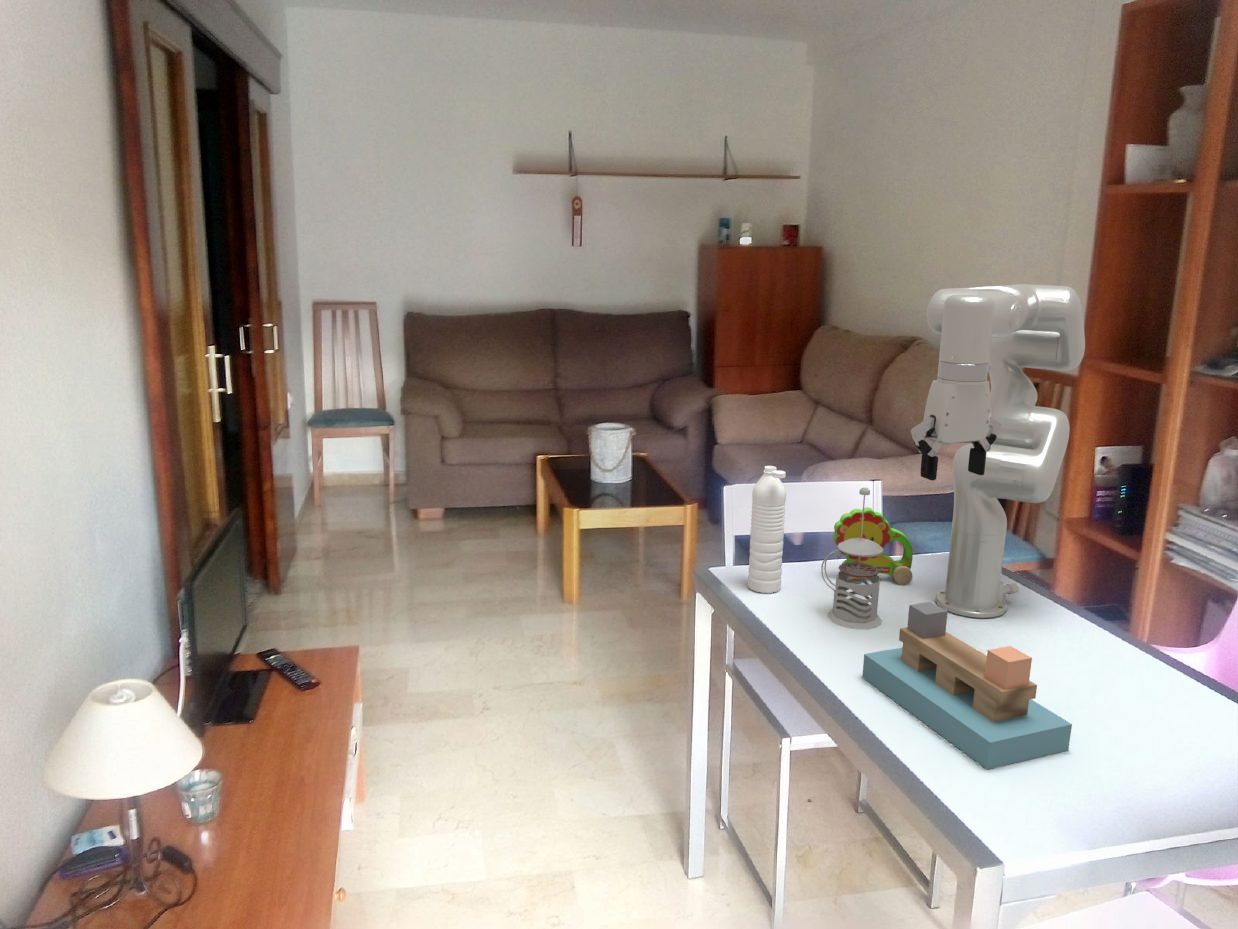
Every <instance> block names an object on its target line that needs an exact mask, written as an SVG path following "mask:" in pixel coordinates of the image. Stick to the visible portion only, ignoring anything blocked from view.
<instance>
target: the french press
mask: <svg viewBox="0 0 1238 929" xmlns="http://www.w3.org/2000/svg"><path fill="white" fill-rule="evenodd" d="M858 494H859V495H861V496H863V503H862V509H863V513H862V526H861V538H851V539H848V540H846V541H843V542H841V543H839V544H838V546H837V549H835V550H832V551H831V552H829V554H828V555H826V556H825V558H824V559H823V561H822V563H821V578H822V580H823V582H824V583H825V584H826V586H827V587H828V588H830V589H831V590H832V591H833V606H832V610H831V611H829V612H828V615H827V618H828V619H829V621H830V622H832V623H833V624H835V625H837V626H840V627H843V628H846V629H854V630H870V629H875V628H878V627H880V626H881V625H882V623H883V619H882V618H881V617H880V616H879V615H878V608H879V607H878V606H879V605H878V604H879V594H880V585H881V584H880V582H881V579H880V576H879V575H878V574H880V573H879V570H878V569H877V568H876V567H875V566H873V565H870V564H869V565H868V564H865V563H860V557H875V556H879V555H881V554H882V553H884V548H882V547H881V546H880V545H878V544H877V543H875V542H873V541H871V540H868V539H864V538H862V529H863V516H864V508H865V500H866V496H869V495H871V490H870V489H869V488H868V487H861V488H860V489H859V492H858ZM838 548H839V550H838ZM839 551H840V552H839ZM838 552H839V553H838ZM841 552H843V553H845V554H849V555H852V556H859V562H857V563H856V562H855V563H852V562H848V563H843V562H842V563H843V564H842V563H841V564H839V565H838V570H839V572H838V573H837V574H836V576H835V583H833V582H832V581H831V579H829V577H828V573H827V561H828V560H829V557H830V556H832V555H833V554H836V559H837V560H839V559H841V557H842V554H841ZM823 570H824V572H823ZM824 574H825V577H826V579H827V581H828V582H829V583H830V584H831V585H832V586H834V588H833V587H832V586H830V585H829V584H828V583H827V581H826V579H825V577H824ZM850 576H852V577H860V578H862V579H860V578H854V579H850V580H847V578H848V577H850ZM866 579H867V580H866ZM857 581H858V583H854V584H853V583H851V582H857ZM868 581H869V582H870V583H869V582H868ZM859 583H861V584H859ZM849 590H850V591H849ZM856 595H858V596H856ZM859 596H861V597H864V598H865V599H864V598H860V597H859ZM848 597H849V598H848ZM870 597H871V598H870ZM869 603H870V604H869Z"/></svg>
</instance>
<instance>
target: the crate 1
mask: <svg viewBox="0 0 1238 929" xmlns="http://www.w3.org/2000/svg"><path fill="white" fill-rule="evenodd" d="M908 606H909V607H908V617H907V618H908V619H907V626H906V627H907V629H908V630H910V631H912V632H913V633H915V634H916V635H918V636H920V637H921V638H923V639H927V638H933V637H939V636H945V633H946V632H947V621H948V612H949V611H947V610H945V609H943V608H942V607H940V606H939V605H938V604H937V603H935V602H932V601H926V602H920V603H913V604H909V605H908Z"/></svg>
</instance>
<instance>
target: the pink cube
mask: <svg viewBox="0 0 1238 929" xmlns="http://www.w3.org/2000/svg"><path fill="white" fill-rule="evenodd" d="M986 651H987V652H986V655H987V659H986V668H985V677H986V678H988V679H989V680H991V681H993V682H994V683H996V684H998V685H999V686H1001V687H1002V688H1004V689H1010V688H1015V687H1020V686H1025V685H1029V681H1030V676H1031V670H1032V669H1031V668H1032V663H1033V662H1032V661H1033V657H1032V656H1030V655H1028V654H1026V653H1024V652H1022V651H1021V650H1018V649H1017V648H1015V647H1014V646H1012V645H1008V646H1002V647H997V648H991V649H987V650H986Z"/></svg>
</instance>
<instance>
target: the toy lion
mask: <svg viewBox="0 0 1238 929" xmlns="http://www.w3.org/2000/svg"><path fill="white" fill-rule="evenodd" d="M862 513H863V508H861V509H860V508H854V509H851V511H849V512H845V513H843V514H842V515H841V516H840V518H839V519H840V520H838V521H836V522H835V523H834V525H833V526H834V527H833V530H834V533H833V536H832V539H833V542H834V545H835V546H837V550H839V548H838V544H839V543H841V542H843V541H846V540H848V539H851V538H861V526H862ZM891 526H892V525H891V524H890V523H889V521H888V520H887V519H886V518H885V517H884V516H883V514H882V513H881V512H878V511H874V510H873V509H872V508H871V507H864V516H863V529H862V538H864V539H868V540H871V541H873V542H875V543H877V544H878V545H880V546H881V547H882V548H883V549H884V548H885V547H886V545H887V544H889V543H890V542H892V541H898V542H900V543H901V544H902V546H903V552H902V556H901V559H899V560H898V559H897V560H895V559H893V558H892V557H891V556H889V555H888V554H886V553H885V552H883V553H882V554H881V555H879V556H875V557H860V563H865V564H868V565H869V564H870V565H873V566H875V567H876V568H877V569H878V570H879V573H878V574H880V575H881V574H883V575H888V576H890V577H892V578H893V580H894V581H895V583H896V584H898V585H900V586H902V585H908V584H909V583H911V581H912V579H913V572H912V570H911V568H912V564H913V557H914V556H913V547H912V544H911V541H910V540H909V538H908V537H907V536H906V535H905V533H903V532H902V531H901V530H899V529H896V528H893V527H891ZM838 552H839V553H840V551H838ZM841 556H845V557H846V559H845V560H843V561H842V562H841V564H843V563H848V562H852V563H855V562H856V563H857V562H859V556H852V555H849V554H845V553H843V552H841ZM854 578H860V577H852V576H850V577H848V578H847V580H850V579H854ZM860 579H863V578H860ZM851 583H852V584H859V582H858V581H857V582H851Z"/></svg>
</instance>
